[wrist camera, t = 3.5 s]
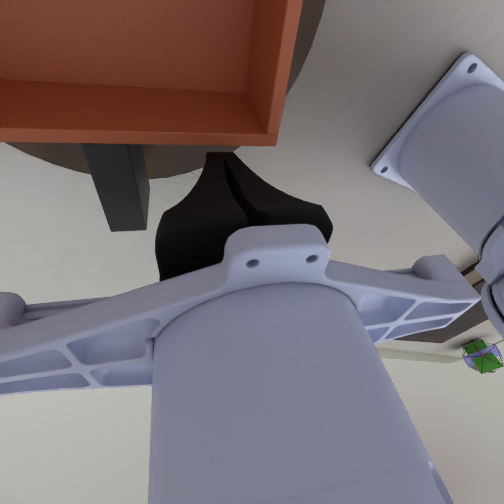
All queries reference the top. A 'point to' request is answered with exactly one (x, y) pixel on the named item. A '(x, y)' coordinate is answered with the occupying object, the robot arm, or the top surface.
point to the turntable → (180, 156)
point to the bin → (143, 81)
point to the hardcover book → (461, 323)
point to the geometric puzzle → (482, 356)
